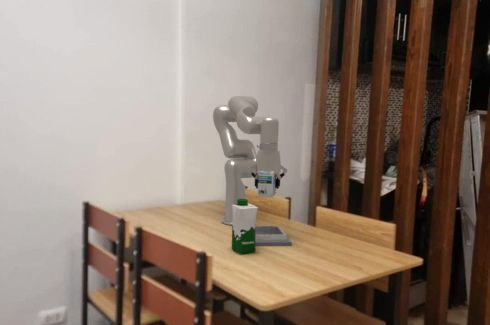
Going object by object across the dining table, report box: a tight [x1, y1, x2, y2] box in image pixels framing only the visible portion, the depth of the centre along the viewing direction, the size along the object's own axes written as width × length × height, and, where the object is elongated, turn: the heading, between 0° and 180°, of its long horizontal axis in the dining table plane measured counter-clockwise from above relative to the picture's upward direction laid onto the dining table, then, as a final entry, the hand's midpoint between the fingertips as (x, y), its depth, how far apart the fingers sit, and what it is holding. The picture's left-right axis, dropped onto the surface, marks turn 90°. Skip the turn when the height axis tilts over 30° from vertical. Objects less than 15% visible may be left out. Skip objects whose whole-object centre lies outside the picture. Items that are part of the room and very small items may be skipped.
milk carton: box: [231, 198, 259, 255], centre depth 170 cm, size 9×9×20 cm
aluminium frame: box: [255, 225, 288, 241], centre depth 187 cm, size 15×15×2 cm
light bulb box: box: [257, 171, 277, 199], centre depth 184 cm, size 11×7×11 cm, turn 169°
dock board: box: [255, 232, 293, 247], centre depth 187 cm, size 19×19×2 cm
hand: (267, 188), depth 185 cm, fingers closed on light bulb box, 8 cm apart
